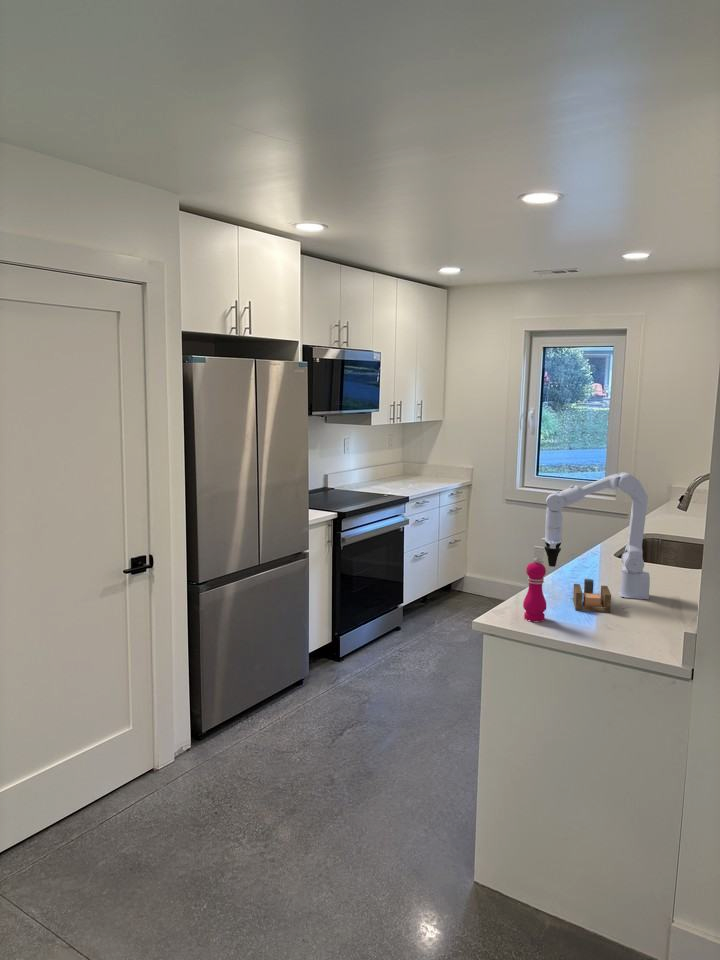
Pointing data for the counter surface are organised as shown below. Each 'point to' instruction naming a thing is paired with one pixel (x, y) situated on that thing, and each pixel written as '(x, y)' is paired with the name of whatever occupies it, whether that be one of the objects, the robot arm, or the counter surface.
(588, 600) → the grey and tan dumbbell
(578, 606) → the brown wooden u-shaped piece
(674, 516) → the counter surface
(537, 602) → the pepper mill
